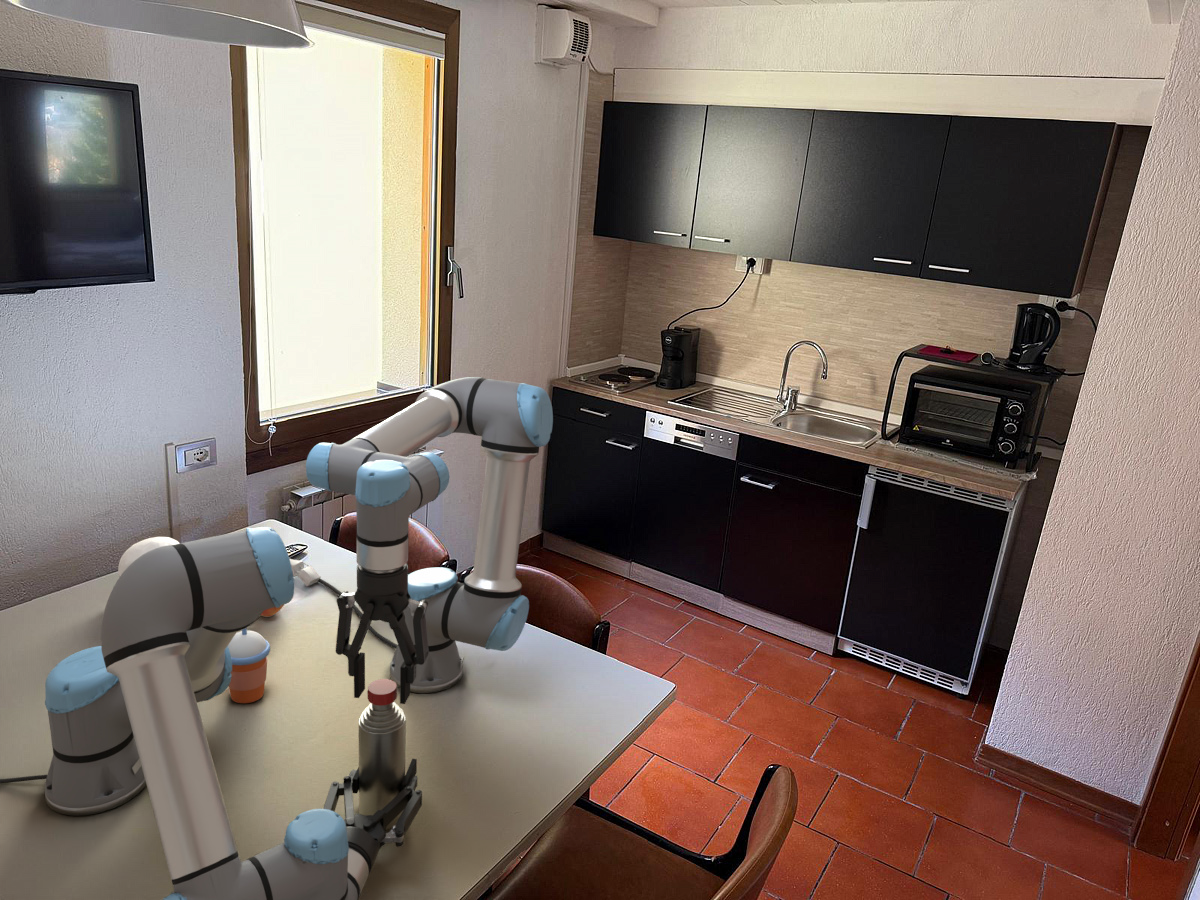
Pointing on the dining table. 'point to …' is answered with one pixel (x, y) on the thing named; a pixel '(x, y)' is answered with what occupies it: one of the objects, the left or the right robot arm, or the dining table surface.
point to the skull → (142, 550)
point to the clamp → (304, 572)
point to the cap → (382, 692)
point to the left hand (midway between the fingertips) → (390, 763)
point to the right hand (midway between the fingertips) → (382, 695)
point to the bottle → (381, 757)
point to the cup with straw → (248, 666)
